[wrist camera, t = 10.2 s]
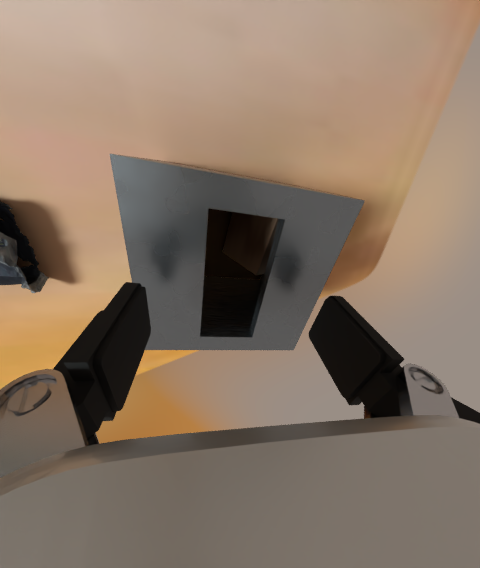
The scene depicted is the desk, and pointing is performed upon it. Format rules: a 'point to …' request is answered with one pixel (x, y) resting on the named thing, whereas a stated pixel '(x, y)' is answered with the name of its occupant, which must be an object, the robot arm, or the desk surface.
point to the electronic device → (17, 255)
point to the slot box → (192, 249)
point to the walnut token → (250, 240)
